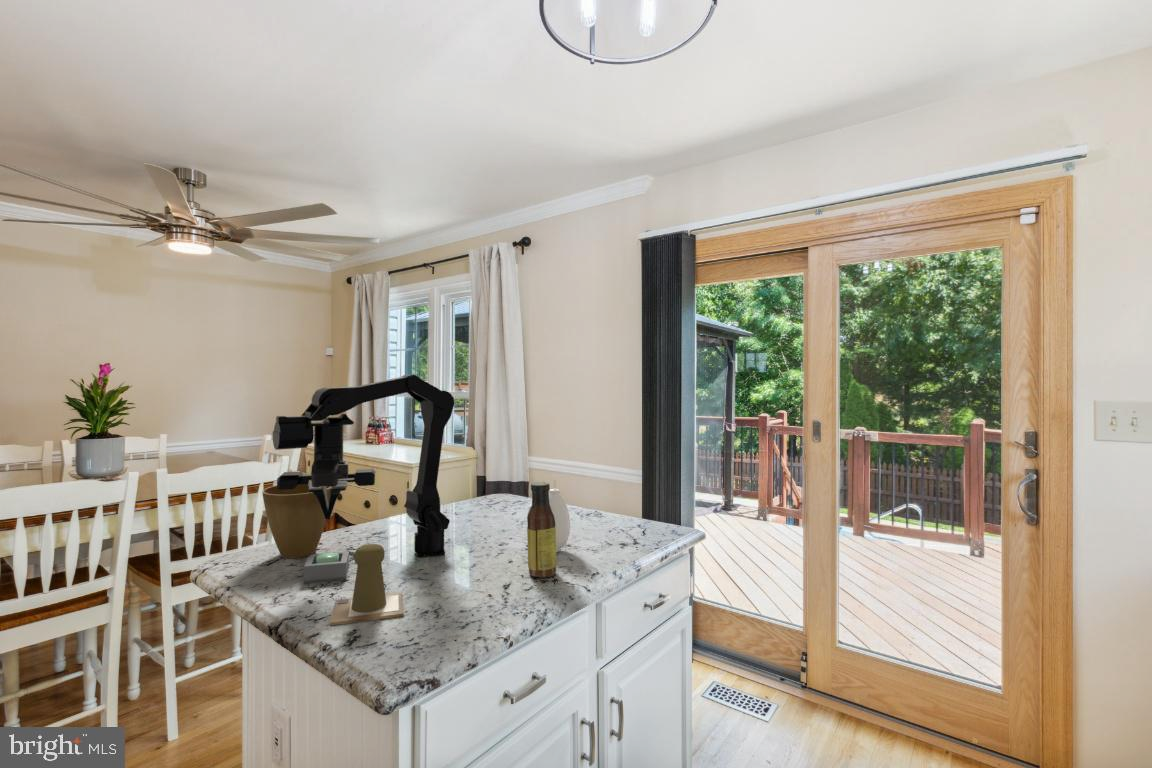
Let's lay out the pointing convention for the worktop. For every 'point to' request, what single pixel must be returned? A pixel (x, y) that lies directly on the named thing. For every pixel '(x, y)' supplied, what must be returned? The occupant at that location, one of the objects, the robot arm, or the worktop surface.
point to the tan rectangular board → (347, 615)
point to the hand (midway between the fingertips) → (327, 519)
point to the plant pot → (295, 519)
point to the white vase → (559, 517)
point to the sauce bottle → (541, 533)
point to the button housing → (326, 568)
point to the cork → (369, 579)
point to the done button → (327, 558)
